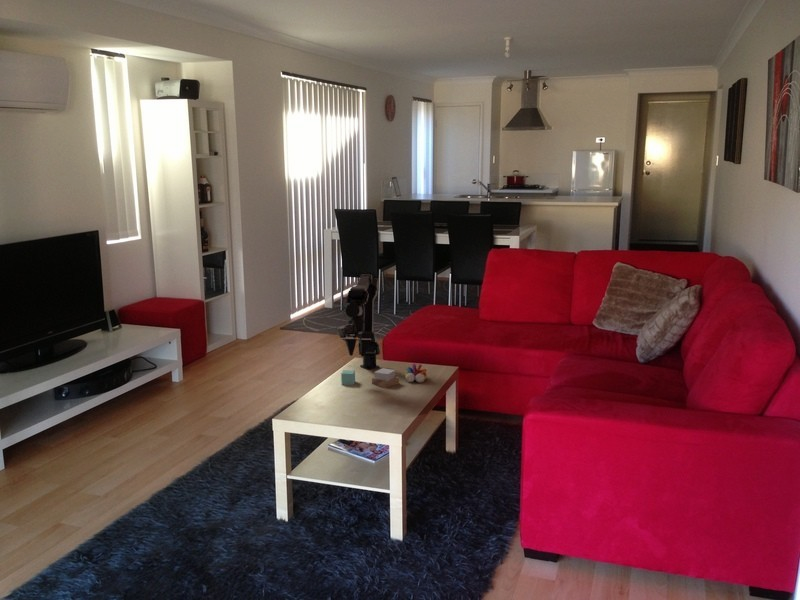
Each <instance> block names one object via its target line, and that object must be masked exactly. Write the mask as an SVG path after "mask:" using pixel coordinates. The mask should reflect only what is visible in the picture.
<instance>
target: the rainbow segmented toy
mask: <svg viewBox="0 0 800 600" xmlns="http://www.w3.org/2000/svg"><path fill="white" fill-rule="evenodd" d="M421 368H422V364H421V363H420V364H419V365H418V366H416V363H413V364H412V365H411V367H410V366H407V367H406V371H407V372H405V373H404V377H405V379H406V381H407V382H408V383H413V382H414V381H416V383H419V384H420V383H423V382H424V381H425V380H427V379H428V375H427V368H422V369H421Z"/></svg>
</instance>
